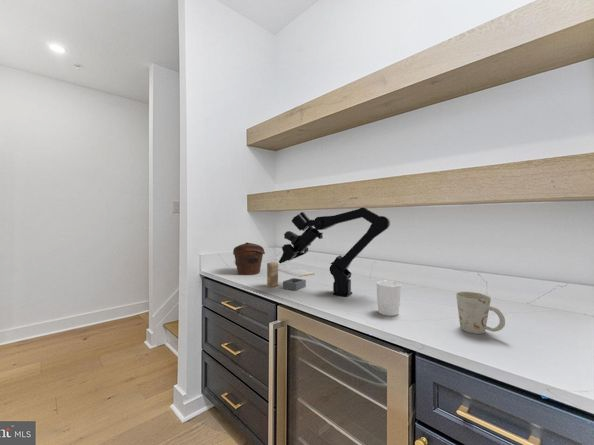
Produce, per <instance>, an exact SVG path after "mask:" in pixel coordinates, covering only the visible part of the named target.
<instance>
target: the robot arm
mask: <svg viewBox="0 0 594 445" xmlns="http://www.w3.org/2000/svg"><path fill="white" fill-rule="evenodd" d="M361 218H363V220H366V221H367V222H368V223H370V225H369V227H368V229H367V231H366V233H364V234H363V235H362V236H361V237H360V239H359V240H358V241H356V243H355V244H354V245H353V246H352V247H351V248H350V249H348V251H347V252H346V253H345V254H344V255H343V256H342V255H338V256H336V257H335V259H334V260H333V261H332V262H331V263H330V266H329V273H330V275H331V276H332V277H333V279H334V281H333V282H332V284H333V285H332V286H333V287H332V289H333V290H332V295H335V296H341V297H346V298H347V297H348V296H351V295H352V294H353V292H352V279H351V277H352V274H353V273H352V272H351V271H350V270H349V268H350V265H351V264H352V262H353V260H355V258H357V256H358V255H359V254H361V252H362V251H363V250H364V249H365V248H366V247H367V246H368V245H369V244H371V242H372V241H373V240H374V239H375V238H376V237H378V236H379V235H380V234H383V233H384V232H385V231H386V230H388V229H389V228H390V226H391V221H390V219H389V217H387V216H383V215H378V214H377V213H374V212H372V211H371V210H369V209H368V208H366V207H360V208H357V209H354V210H351V211H346V212H343V213H339V214H335V215H326V216H317V217H315V218H314V219H310V218H309V217H308V216H307V215H306V213H305V212H303V211H301V212H300V213H298V214H297V215H295V216H294V217H292V220H291V223H292V224H293V225H294V226H295V227H296V228H297V229H298V231H302V232H303V233H301V234H300V235H298V234H296V233H294V232H293V231H291V230H288V231H286V232H285V233H284V234H283V236H284V237H283V239H284V240H288V241H289V242H290V243H286V244H283V246H281V249H282V254H281V257H280V259H279V260H278V264H279V265H282V263H283V264H284V263H286V262H287V261H288V262H289V261H292V260H294V259H296V258H300V257H302V256H304V255H305V254H307V253H308V252H309V247H310V246H312V243H313V242H314V241H315V240H316V239H317V238H318V239H319V240H321V239H323V238H324V237H323V234H324V232H321V231H323V230H327V229H330V228H332V227H334V226H335V225H337V224H342V223H345V222H346V223H347V222H349V221H350V222H351V221H354V220H358V219H361Z"/></svg>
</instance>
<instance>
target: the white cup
mask: <svg viewBox="0 0 594 445" xmlns="http://www.w3.org/2000/svg"><path fill="white" fill-rule="evenodd" d="M401 290H402V283H400V282H399V281H398V282H397V281H392V280H379V281H377V282H376V299H377V300H376V302H377V313H379V314H380V315H383V316H387V317H388V316H392V317H395V316H399V315H400V314H399V313H400V305H401Z"/></svg>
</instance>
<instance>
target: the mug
mask: <svg viewBox="0 0 594 445" xmlns="http://www.w3.org/2000/svg"><path fill="white" fill-rule="evenodd" d="M455 296H456V304H457V311H458V318H459V320H458V321H459V327H460V329H461V330H462V331H464V332H467V333H469V334H475V335H476V334H477V335H483V334H485V332H486V331H491V332H498V331H501V330H503V329H504V327H505V326H506V319H505V316H504V314H503V312H502V311H501V309H499V308H498V307H495V306H492V305H491V301H492V300H491V296H490V295H487V294H485V293H480V292H475V291H458V292H456V294H455ZM490 311H492V312H494V313H495V314H496V315H497V316H498V319H499V322H498V324H497V326H495V327H490V326H487V323H488V317H489V312H490Z"/></svg>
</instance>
